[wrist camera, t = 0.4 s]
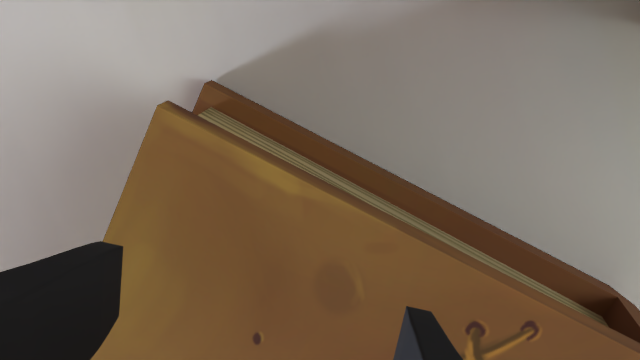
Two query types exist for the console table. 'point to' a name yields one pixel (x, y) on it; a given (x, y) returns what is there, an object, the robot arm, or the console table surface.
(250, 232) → the diary
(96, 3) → the console table surface
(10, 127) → the console table surface
